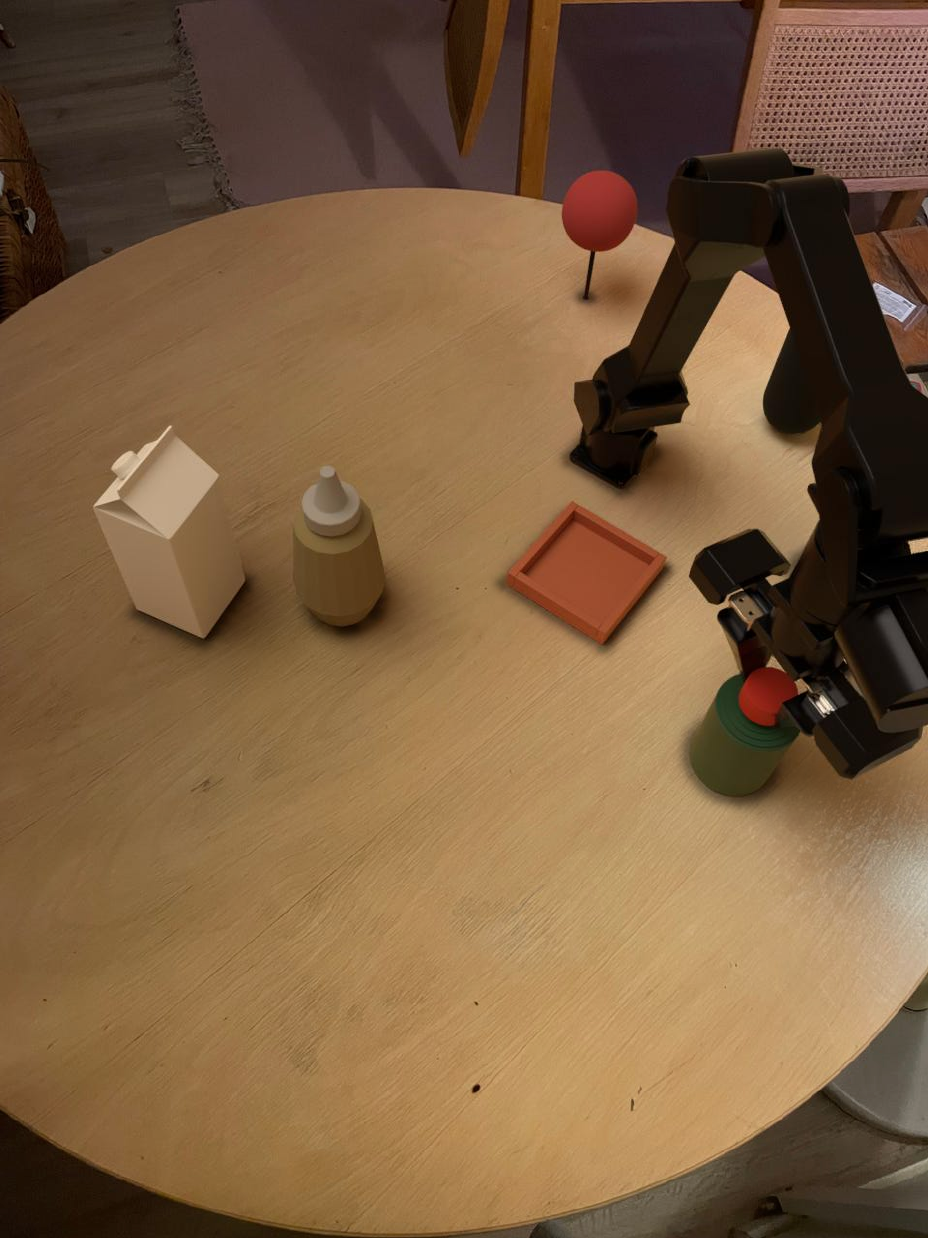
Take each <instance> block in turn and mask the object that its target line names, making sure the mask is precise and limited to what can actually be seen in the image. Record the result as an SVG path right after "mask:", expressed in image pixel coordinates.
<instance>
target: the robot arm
mask: <svg viewBox="0 0 928 1238" xmlns="http://www.w3.org/2000/svg"><path fill="white" fill-rule="evenodd" d="M823 172H824V168H823V167H819V166H814V165H813V166H812V165H807V164H806V165H805V164H800V163H793V162H792V160H791V158H790V156H789V154H788V153H787V152H786V151H785V150H784V149H783V148H781V147H768V148H758V149H750V150H742V151H741V150H740V151H733V152H725V153H723V152H722V153H715V154H707V155H706V154H705V155H697V156H696V155H695V156H691V157H686V158H684V159H683V160H682V161H681V163H680V164H679V166H678V168H677V169H676V172H675V175H674V177H673V179H672V180H671V181H670V183H669V187H668V189H667V196H666V197H667V199H666V206H665V210H664V212H665V216H666V218H667V222H668V225H669V228H670V231H671V234H672V239H673V240H674V243H673V245H672V248H671V250H670V253H669V255H668V257H667V259H666V261H665V264H664V266H663V268H662V271H661V273H660V275H659V276H658V277H659V278H658V280H657V282H656V284H655V286H654V289H653V291H652V292H651V295H650V298H649V299H648V301H647V304H646V306H645V309H644V311H643V313H642V315H641V318H640V319H639V321H638V324H637V327H636V329H635V331H634V333H633V335H632V338H631V340H630V342H629V344H628V345H626V346H625V347H623V348H621V349H620V350H618V351H616V352H614V353H612V354H610V355H609V356H607V357H605V358H604V359H603V360H602V361H601V363H600V364H599V366H597V369H596V370H595V372H594V373H593V375H592V378H591V379H588V380H580V381H574V384H573V386H574V387H573V403H574V406H575V409H576V412H577V413H578V416H579V419H580V421H581V424H582V426H581V430H580V435H579V440H578V441H579V442H578V444H577V445H576V446H575V447H574V448H573V449H572V450H571V451H570V453H569V456H568V459H569V460H570V461H571V462H573V463H574V464H576V465H578V466H579V467H581V468H583V469H584V470H587V471H588V472H589V473H592V474H594V475H595V476H597V477H599V478H600V479H602V480H604V481H606V482H607V483H609V484H611V485H612V486H614V487H616V488H617V489H624V488H625V487H626V486H627V485H628V484H629V482H630V481H631V480H632V479H633V478H634V477H637V476H639V475H640V474H641V473H642V472H643V471H644V469H645V468H646V467H647V466H648V465H649V464H650V463H651V461H652V457H653V455H654V453H655V450H656V448H655V447H656V443H657V440H658V437H659V435H658V432H657V431H655V429H656V428H657V427H663V426H669V425H677V424H682V420H683V416H684V413H685V411H686V410H687V409H688V408H689V407H690V406H691V402H690V400H689V398H688V394H689V390H688V385H687V383H686V381H685V378H684V374H683V368H684V367H685V365H686V363H687V361H688V359H689V357H690V356H691V354H692V352H693V351H694V350H695V347H696V345H697V343H698V342H699V340H700V338H701V336H702V334H703V333H704V331H705V329H706V327H707V325H708V324H709V322H710V320H711V318H712V316H713V315H714V313H715V311H716V310H717V308H718V306H719V304H720V302H721V300H722V298H723V296H724V295H725V293H726V291H727V289H728V288H729V286H730V284H731V283H732V280H733V279H734V277H735V275H736V274H737V273H738V272H740V271H742V270H744V269H745V268H747V267H749V266H751V265H752V264H754V263H756V262H758V261H759V260H761V259H763V258H764V257H765V259H766V261H767V264H768V268H769V270H770V274H771V276H772V279H773V282H774V285H775V288H776V291H777V294H778V297H779V300H780V303H781V307H782V309H783V313H784V314H785V318H786V321H787V323H788V326H789V328H790V329H791V332H792V335H793V338H794V341H795V344H796V347H797V350H798V353H799V356H800V359H801V362H802V365H803V368H804V371H805V374H806V376H807V379H808V382H809V385H810V388H811V391H812V394H813V397H814V400H815V403H816V406H817V410H818V414H819V418H820V423H819V424H820V425H821V426H820V430H819V434H818V438H817V441H816V444H815V447H814V451H813V454H812V458H811V468H812V473H813V477H814V482H811V483H809V484H808V485H807V488H806V491H807V494H808V496H809V498H810V500H811V502H812V504H813V506H814V509H815V510H816V512H817V514H818V521H819V519H820V521H819V523H818V522H817V523H818V525H817V524H816V525H817V527H816V526H815V527H816V528H815V527H814V528H815V530H814V529H813V530H814V532H813V531H812V532H813V534H812V533H811V534H812V536H811V535H810V536H811V538H810V537H809V538H810V540H809V539H808V540H809V541H808V540H807V542H808V543H807V542H806V544H807V545H806V544H805V545H806V547H805V546H804V547H805V549H804V548H803V549H804V551H803V550H802V551H803V553H802V552H801V553H802V554H801V553H800V555H801V556H800V555H799V557H800V558H799V557H798V559H799V560H797V562H796V563H795V566H793V569H792V571H791V573H790V575H789V577H788V578H786V579H785V578H784V579H783V580H781V581H779V582H776V583H774V584H771V583H770V582H769V580H768V578H769V577H771V576H777V577H783V576H785V575H787V574H788V573H789V571H790V569H791V567H792V564H791V562H790V561H789V560H788V559H787V557H785V555H784V554H783V553H782V552H781V550H780V549H779V548H778V546H776V545H775V543H774V542H773V541H772V540H771V538H770V537H769V536H768V535H767V533H766V532H765V531H764V530H762V529H759V528H746V529H745V530H742V531H739V532H737V533H736V534H732V535H730V536H728V537H726V538H724V539H722V540H721V539H720V540H719V541H716V542H714V543H712V544H709V545H707V546H705V547H703V548H702V549H701V550H700V551H699V552H698V553H697V554H696V555H695V556H694V559H693V561H692V564H691V566H690V569H689V574H688V578H689V579H690V580H691V582H692V583H693V584H694V585H695V588H697V590H698V591H699V593H700V594H701V595H702V596H703V598H704V599H705V600H706V602H707V603H708V604H711V605H716V606H719V605H721V604H724V603H725V601H726V599H727V601H728V603H729V604H728V606H727V607H724V608H722V609H720V610H718V612H717V615H716V620H717V622H718V624H719V625H720V626H721V628H722V630H723V633H724V636H725V637H726V641H727V643H728V645H729V648H730V650H731V652H732V655H733V657H734V660H735V664H736V666H737V669H738V672H739V674H740V675H741V678H742V680H743V682H744V683H745V682H746V680H747V678H748V676H749V675H750V674H751V673H752V672H753V671H755V670H756V669H759V668H762V667H768V664H769V662H770V660H771V658H772V657H773V658H774V659H775V661H776V662H777V663H778V664H779V666H780V667H781V668H782V669H783V671H784V672H785V673H787V675H788V676H789V677H790V679H791V680H792V681H793V682H795V683H796V682H797V681H800V683H801V684H802V685H803V687H804V688H805V689H806V690H805V691H803V692H801V693H798V695H797V696H795V697H793V698H791V699H789V700H786V701H784V702H782V704H781V706H780V708H779V710H778V713H777V715H776V717H775V725H776V726H777V728H781V727H784V726H792V727H797V728H798V729H799V730H800V731H801V732H800V734H802V735H803V736H805V737H808V738H811V737H813V740H814V744H815V746H816V748H818V750H819V751H820V752H821V753H822V756H824V757H825V759H826V761H828V763H829V765H830V766H831V767H832V768H833V770H834V771H835V773H836V774H837V775H838V777H840V778H844V779H847V780H851V781H853V780H855V779H857V778H858V777H860V776H862V775H864V774H867V773H868V772H869V771H871V770H874V769H875V768H878V767H879V766H881V765H883V764H885V763H887V762H888V761H890V760H892V759H894V758H896V757H898V756H899V755H901V754H904V753H905V752H907V751H909V750H911V749H912V748H913V747H914V746H915V745H916V744H918V742H919V741H920V740H921V739H922V737H923V731H924V727H926V726H928V550H924V551H917V552H913V553H912V551H911V545H910V542H916V541H921V540H926V539H928V396H927V395H926V394H924V393H923V392H921V390H919V389H917V388H916V387H915V386H914V385H913V384H912V382H911V380H910V378H909V376H908V374H907V373H906V371H905V369H904V366H903V362H902V360H901V357H900V355H899V353H898V350H897V346H896V344H895V342H894V339H893V336H892V334H891V331H890V329H889V326H888V323H887V319H886V317H885V315H884V311H883V310H882V309H883V308H882V306H881V304H880V301H879V298H878V296H877V293H876V291H875V287H874V285H873V282H872V279H871V276H870V274H869V271H868V269H867V266H866V263H865V260H864V257H863V255H862V252H861V250H860V248H859V244H858V241H857V239H856V236H855V233H854V231H853V228H852V226H851V225H852V224H851V223H850V220H849V218H850V213H851V198H850V194H849V190H848V187H847V185H846V184H845V182H844V180H843V179H842V178H840V177H838V176H835V175H834V176H833V175H830V174H829V173H823ZM728 595H729V596H728ZM727 597H728V598H727Z"/></svg>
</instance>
